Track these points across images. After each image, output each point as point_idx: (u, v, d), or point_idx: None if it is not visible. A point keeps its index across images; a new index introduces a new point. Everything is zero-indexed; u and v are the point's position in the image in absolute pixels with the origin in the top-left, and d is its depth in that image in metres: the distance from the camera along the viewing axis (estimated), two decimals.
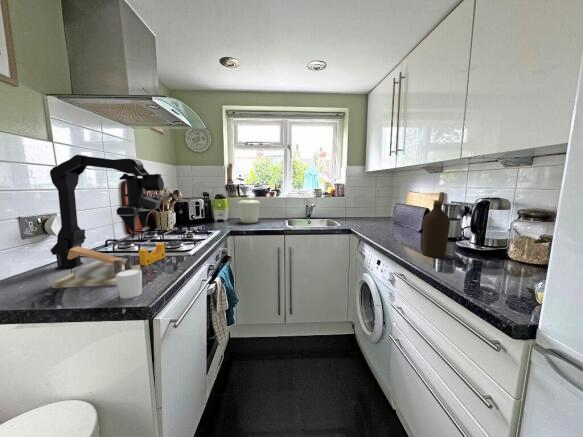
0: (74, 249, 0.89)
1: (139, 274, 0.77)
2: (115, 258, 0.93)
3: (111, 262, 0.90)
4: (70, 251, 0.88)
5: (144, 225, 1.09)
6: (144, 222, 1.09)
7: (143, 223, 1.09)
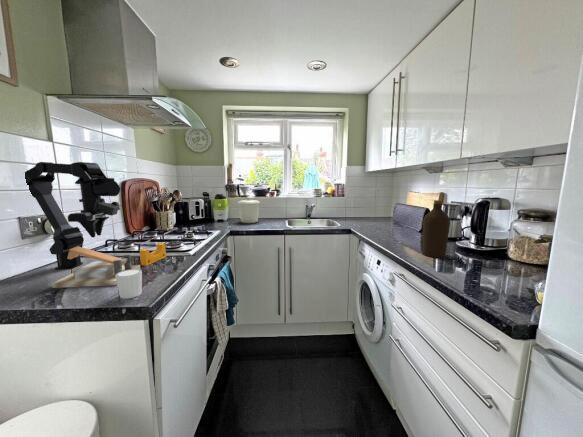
0: (74, 249, 0.89)
1: (139, 274, 0.77)
2: (115, 258, 0.93)
3: (111, 262, 0.90)
4: (70, 251, 0.88)
5: (99, 233, 1.01)
6: (99, 230, 1.01)
7: (97, 231, 1.01)
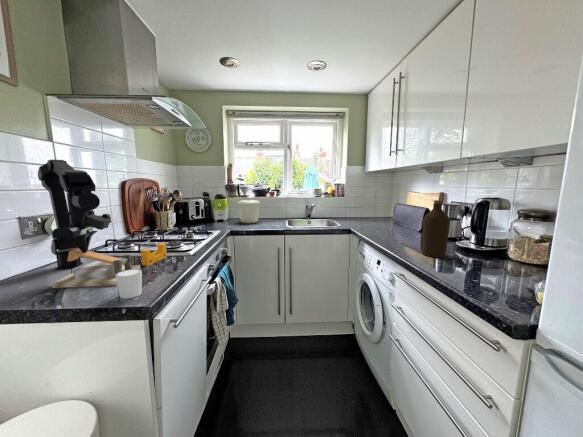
0: (74, 251, 0.89)
1: (139, 274, 0.77)
2: (115, 258, 0.93)
3: (111, 262, 0.90)
4: (70, 253, 0.88)
5: None
6: None
7: None
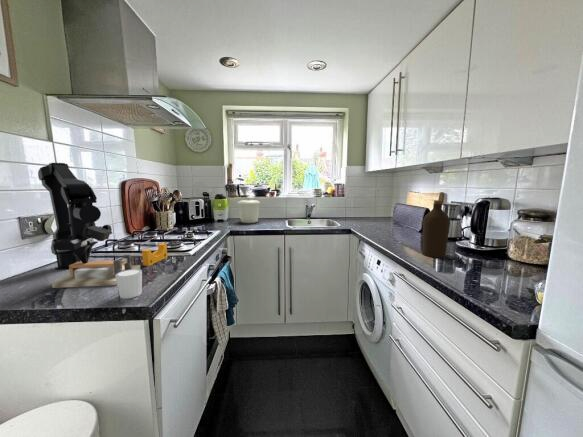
0: (73, 264, 0.90)
1: (139, 274, 0.77)
2: None
3: (111, 265, 0.90)
4: (70, 267, 0.89)
5: None
6: None
7: None
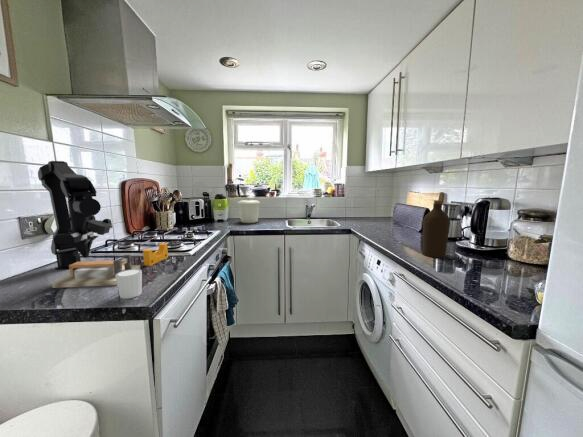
0: (73, 264, 0.90)
1: (139, 274, 0.77)
2: None
3: (111, 265, 0.90)
4: (70, 267, 0.89)
5: None
6: None
7: None
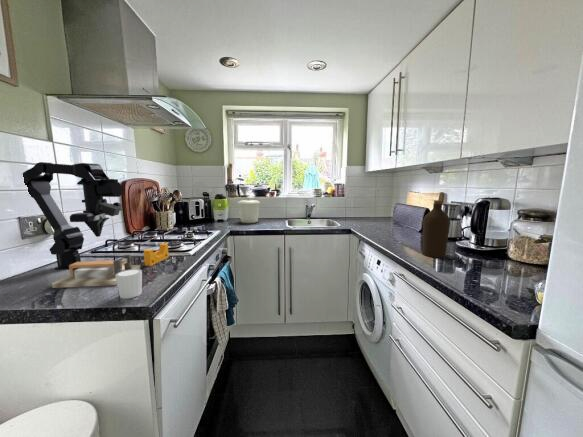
0: (73, 264, 0.90)
1: (139, 274, 0.77)
2: None
3: (111, 265, 0.90)
4: (70, 267, 0.89)
5: None
6: None
7: None
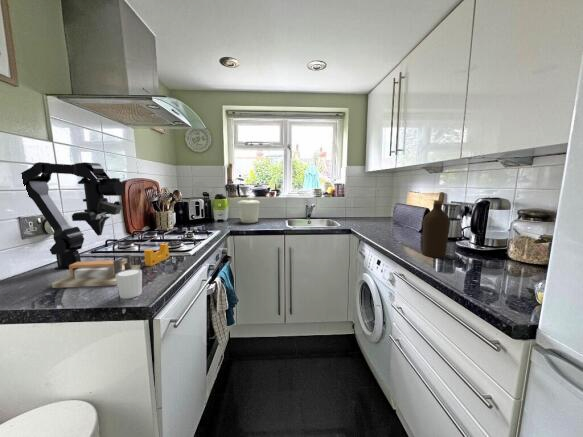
0: (73, 264, 0.90)
1: (139, 274, 0.77)
2: None
3: (111, 265, 0.90)
4: (70, 267, 0.89)
5: None
6: None
7: None
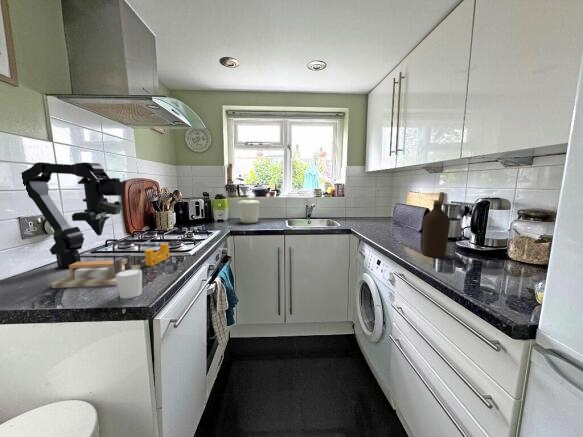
0: (73, 264, 0.90)
1: (139, 274, 0.77)
2: None
3: (111, 265, 0.90)
4: (70, 267, 0.89)
5: None
6: None
7: None
